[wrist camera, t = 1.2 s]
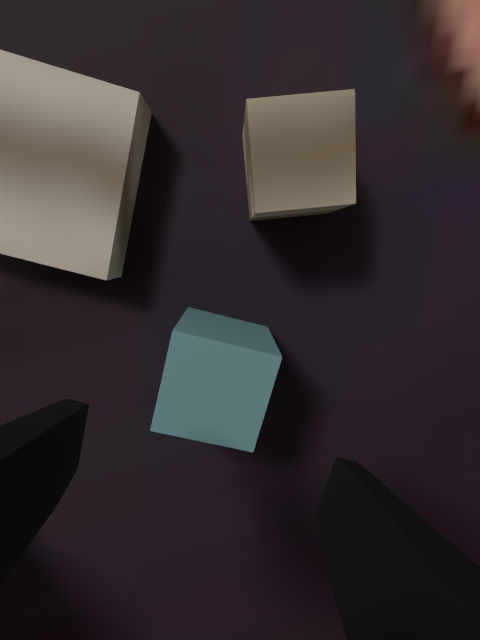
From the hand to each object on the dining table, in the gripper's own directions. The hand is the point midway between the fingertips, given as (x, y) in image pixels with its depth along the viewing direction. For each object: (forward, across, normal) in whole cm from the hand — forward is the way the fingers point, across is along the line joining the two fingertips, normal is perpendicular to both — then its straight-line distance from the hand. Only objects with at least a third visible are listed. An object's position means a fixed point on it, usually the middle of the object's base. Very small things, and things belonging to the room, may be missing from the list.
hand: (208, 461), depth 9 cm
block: (+9, -1, -10) cm, 14 cm away
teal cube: (+9, 0, 0) cm, 9 cm away
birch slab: (+10, +10, -7) cm, 16 cm away
